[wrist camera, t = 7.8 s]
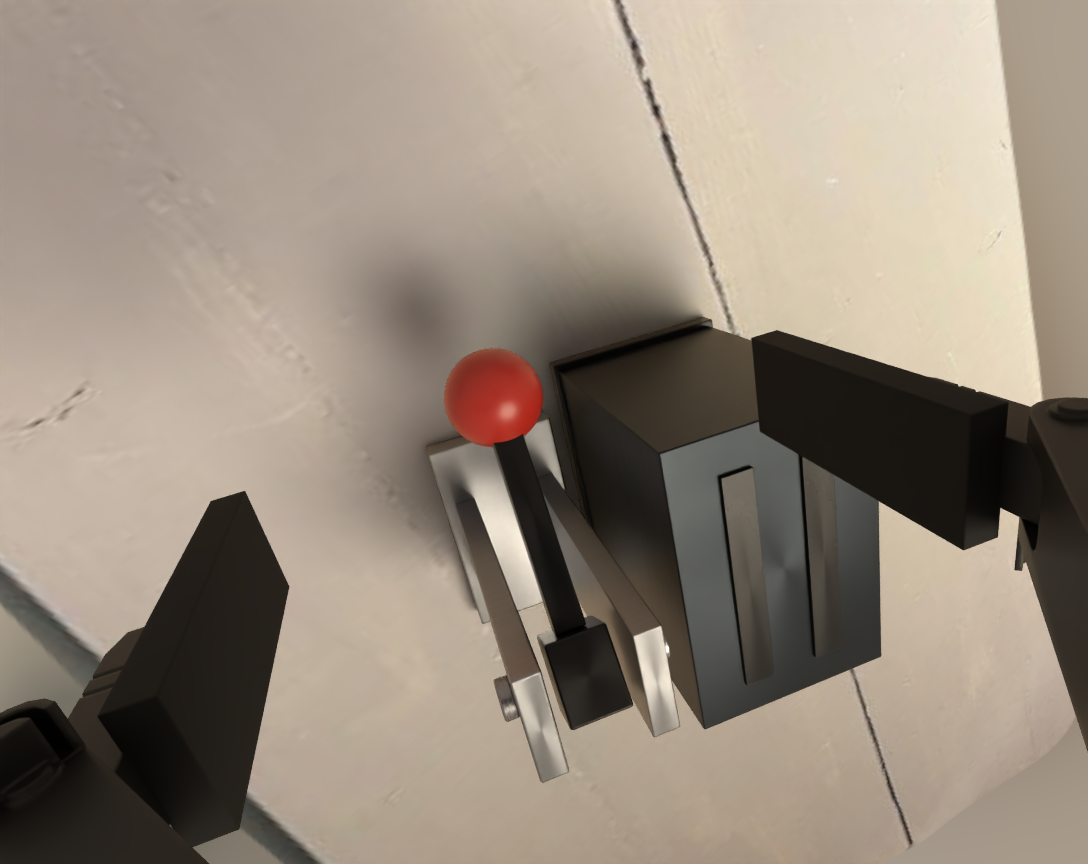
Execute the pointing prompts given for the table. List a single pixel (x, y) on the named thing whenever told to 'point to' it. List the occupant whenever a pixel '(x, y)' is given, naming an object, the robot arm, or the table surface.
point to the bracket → (511, 587)
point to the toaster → (720, 519)
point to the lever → (537, 530)
